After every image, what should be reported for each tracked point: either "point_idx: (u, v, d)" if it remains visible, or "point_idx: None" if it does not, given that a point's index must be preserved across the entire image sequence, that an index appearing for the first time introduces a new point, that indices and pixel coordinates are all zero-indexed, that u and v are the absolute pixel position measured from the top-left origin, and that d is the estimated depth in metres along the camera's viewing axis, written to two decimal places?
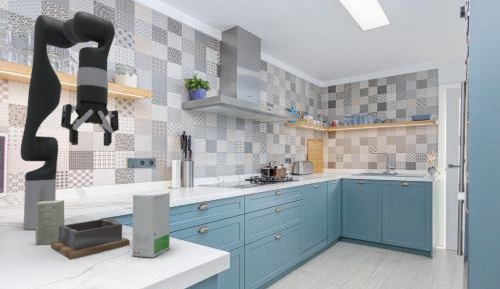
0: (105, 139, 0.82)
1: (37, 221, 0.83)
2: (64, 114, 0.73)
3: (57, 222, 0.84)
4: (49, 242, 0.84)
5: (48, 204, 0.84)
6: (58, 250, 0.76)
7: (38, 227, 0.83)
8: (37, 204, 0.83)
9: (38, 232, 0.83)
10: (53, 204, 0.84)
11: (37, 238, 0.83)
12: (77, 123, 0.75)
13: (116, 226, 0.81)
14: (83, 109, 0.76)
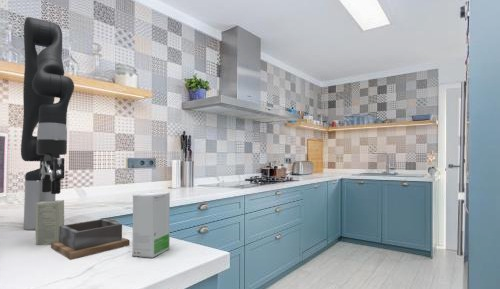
0: (46, 186, 0.89)
1: (37, 221, 0.83)
2: (60, 167, 0.82)
3: (57, 222, 0.84)
4: (49, 242, 0.84)
5: (48, 204, 0.84)
6: (58, 250, 0.76)
7: (38, 227, 0.83)
8: (37, 204, 0.83)
9: (38, 232, 0.83)
10: (53, 204, 0.84)
11: (37, 238, 0.83)
12: None
13: (116, 226, 0.81)
14: None
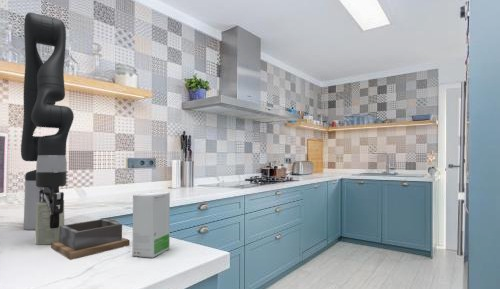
0: None
1: (37, 221, 0.83)
2: (59, 202, 0.82)
3: None
4: (49, 242, 0.84)
5: None
6: (58, 250, 0.76)
7: (38, 227, 0.83)
8: (37, 204, 0.84)
9: (38, 232, 0.83)
10: None
11: (37, 238, 0.83)
12: None
13: (116, 226, 0.81)
14: None
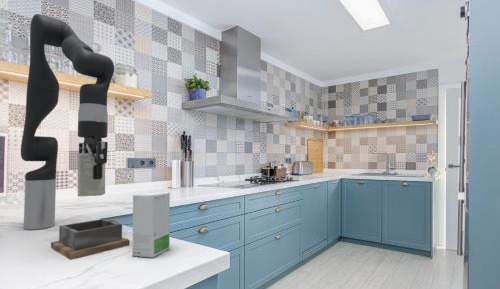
0: None
1: (79, 172, 0.80)
2: (104, 151, 0.79)
3: None
4: (92, 194, 0.80)
5: None
6: (58, 250, 0.76)
7: (80, 178, 0.80)
8: (79, 154, 0.80)
9: (80, 183, 0.80)
10: None
11: (79, 189, 0.80)
12: None
13: (116, 226, 0.81)
14: None
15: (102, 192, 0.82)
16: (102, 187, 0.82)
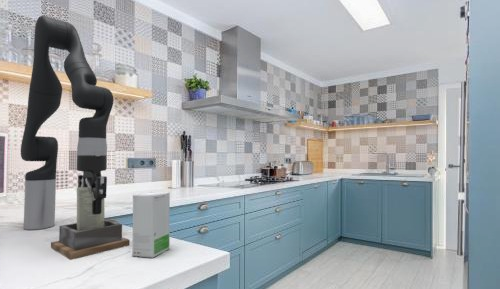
0: None
1: (78, 207, 0.79)
2: (103, 186, 0.78)
3: None
4: None
5: None
6: (58, 250, 0.76)
7: (79, 213, 0.79)
8: (78, 189, 0.79)
9: (79, 218, 0.79)
10: None
11: (78, 224, 0.79)
12: None
13: (116, 226, 0.81)
14: None
15: (101, 226, 0.81)
16: (101, 221, 0.81)
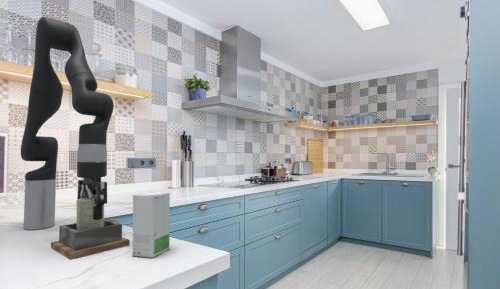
0: None
1: (78, 218, 0.79)
2: (103, 192, 0.78)
3: None
4: None
5: (89, 201, 0.80)
6: (58, 250, 0.76)
7: (79, 225, 0.79)
8: (78, 201, 0.79)
9: (79, 230, 0.79)
10: None
11: None
12: None
13: (116, 226, 0.81)
14: None
15: None
16: None
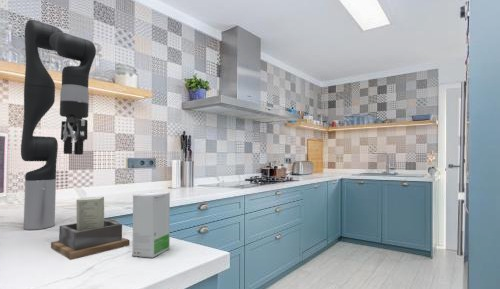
0: (68, 148, 0.91)
1: (78, 218, 0.79)
2: (84, 128, 0.84)
3: (99, 220, 0.80)
4: None
5: (89, 201, 0.80)
6: (58, 250, 0.76)
7: (79, 225, 0.79)
8: (78, 201, 0.79)
9: (79, 230, 0.79)
10: (95, 201, 0.80)
11: None
12: None
13: (116, 226, 0.81)
14: None
15: None
16: None
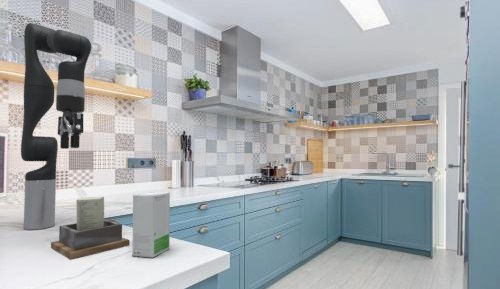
0: (64, 142, 0.91)
1: (78, 218, 0.79)
2: (80, 121, 0.85)
3: (99, 220, 0.80)
4: None
5: (89, 201, 0.80)
6: (58, 250, 0.76)
7: (79, 225, 0.79)
8: (78, 201, 0.79)
9: (79, 230, 0.79)
10: (95, 201, 0.80)
11: None
12: None
13: (116, 226, 0.81)
14: None
15: None
16: None
